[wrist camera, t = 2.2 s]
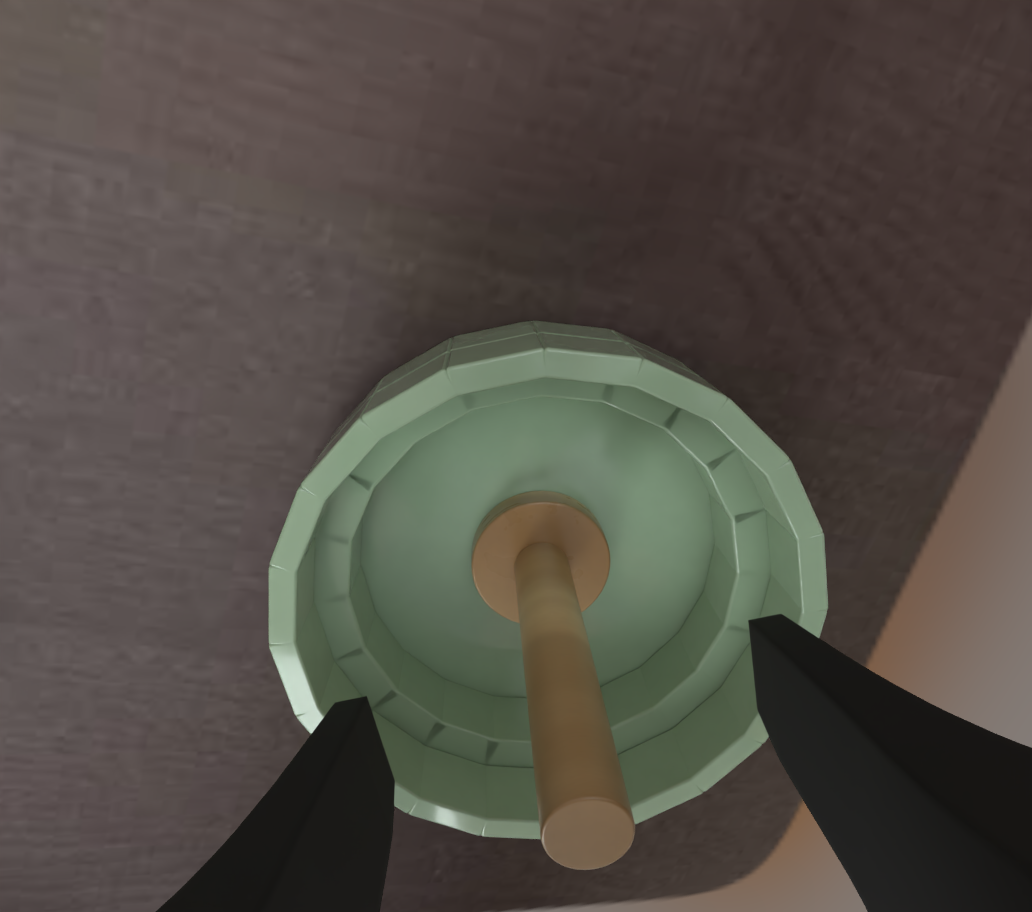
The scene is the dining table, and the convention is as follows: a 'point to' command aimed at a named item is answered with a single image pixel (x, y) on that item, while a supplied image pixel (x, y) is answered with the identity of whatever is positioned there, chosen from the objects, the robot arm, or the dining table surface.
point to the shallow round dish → (497, 641)
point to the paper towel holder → (559, 667)
